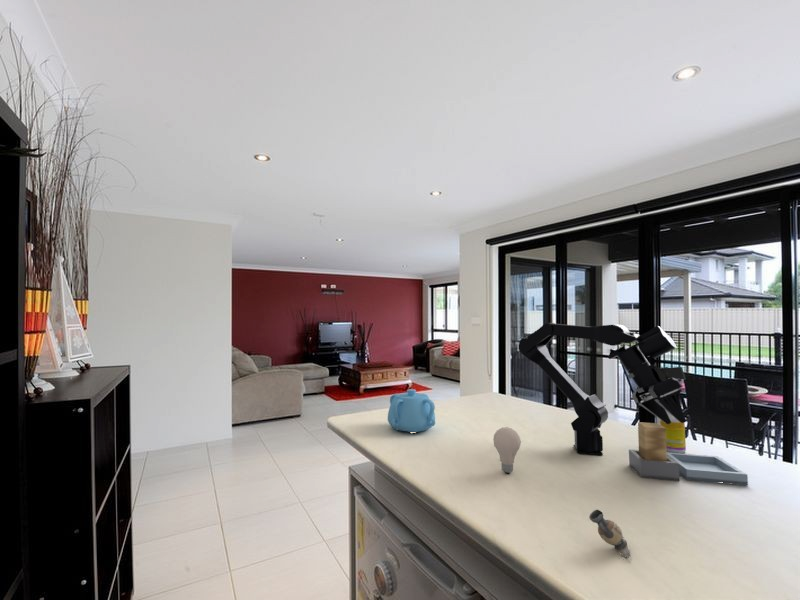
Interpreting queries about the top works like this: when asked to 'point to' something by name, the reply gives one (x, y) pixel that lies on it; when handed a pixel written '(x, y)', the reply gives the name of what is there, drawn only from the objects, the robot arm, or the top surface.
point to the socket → (654, 467)
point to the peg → (652, 441)
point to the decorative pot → (411, 411)
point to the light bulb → (507, 447)
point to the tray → (708, 469)
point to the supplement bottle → (674, 435)
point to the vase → (610, 533)
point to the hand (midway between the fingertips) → (676, 423)
